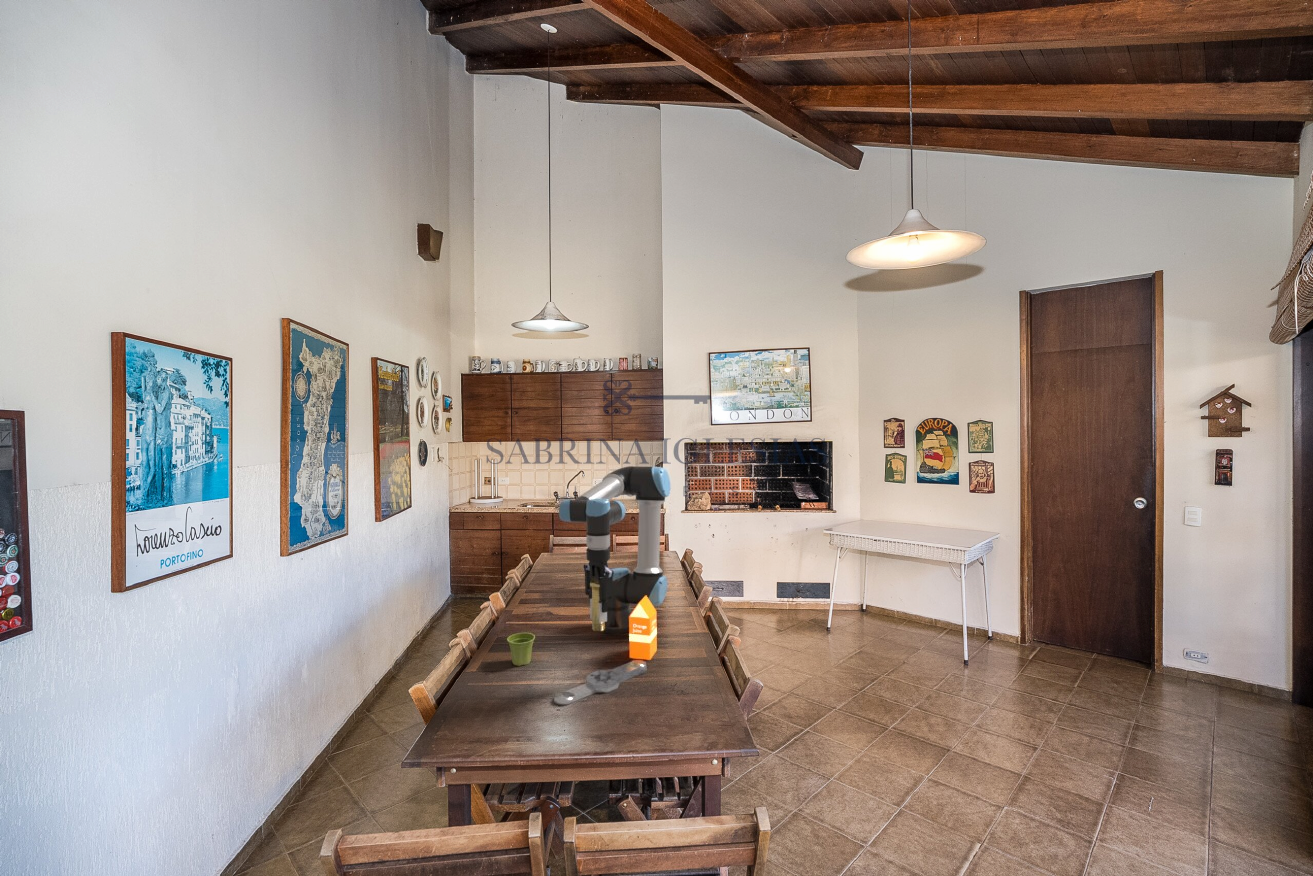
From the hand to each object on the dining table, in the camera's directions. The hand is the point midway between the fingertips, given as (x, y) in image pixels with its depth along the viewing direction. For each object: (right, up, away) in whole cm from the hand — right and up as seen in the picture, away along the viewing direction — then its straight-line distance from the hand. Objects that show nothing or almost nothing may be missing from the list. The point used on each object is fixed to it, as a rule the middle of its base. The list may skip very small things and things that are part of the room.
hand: (598, 619), depth 189 cm
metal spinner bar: (+2, -20, -3) cm, 20 cm away
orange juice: (+14, -19, +21) cm, 31 cm away
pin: (0, -3, 0) cm, 3 cm away
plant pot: (-28, -20, +15) cm, 37 cm away
